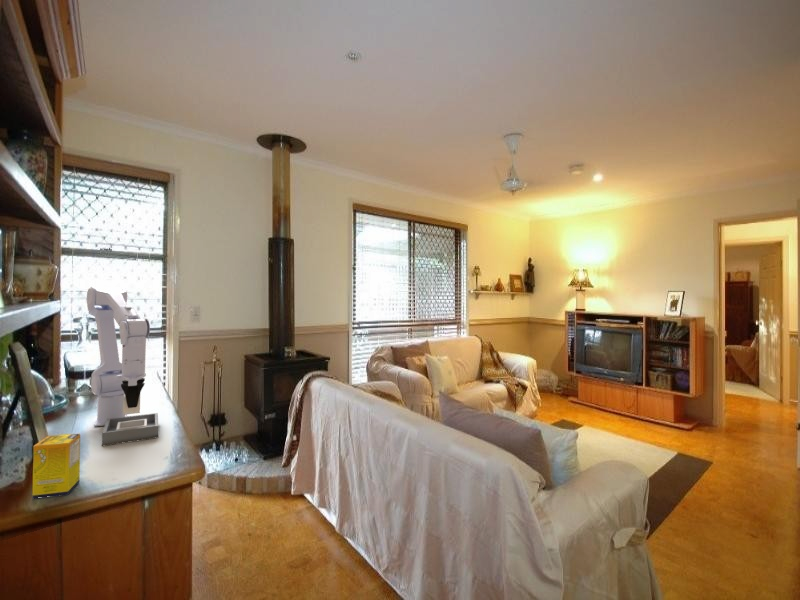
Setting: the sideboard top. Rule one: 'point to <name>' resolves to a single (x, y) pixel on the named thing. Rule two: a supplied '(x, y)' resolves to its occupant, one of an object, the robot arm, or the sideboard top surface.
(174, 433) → the sideboard top surface
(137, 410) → the connector
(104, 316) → the robot arm
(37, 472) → the supplement box
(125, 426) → the walled box
